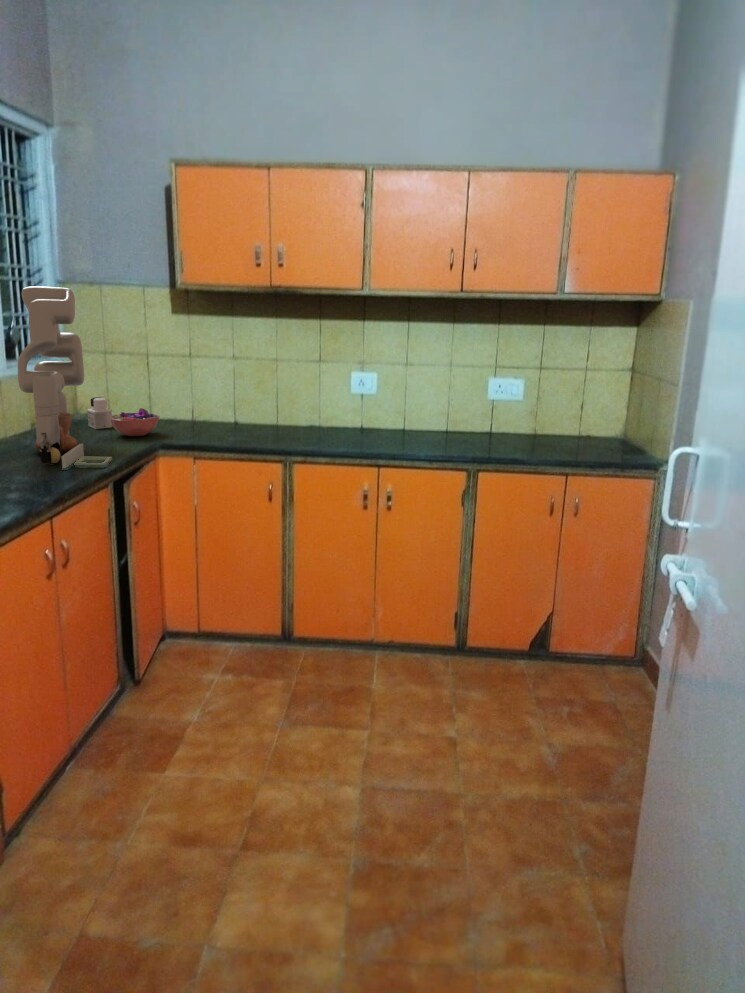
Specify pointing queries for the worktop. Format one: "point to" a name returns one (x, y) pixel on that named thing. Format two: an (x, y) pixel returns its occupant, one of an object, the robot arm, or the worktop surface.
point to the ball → (55, 455)
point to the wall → (72, 455)
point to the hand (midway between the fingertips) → (51, 459)
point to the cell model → (135, 423)
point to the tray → (79, 462)
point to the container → (99, 414)
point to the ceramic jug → (64, 433)
